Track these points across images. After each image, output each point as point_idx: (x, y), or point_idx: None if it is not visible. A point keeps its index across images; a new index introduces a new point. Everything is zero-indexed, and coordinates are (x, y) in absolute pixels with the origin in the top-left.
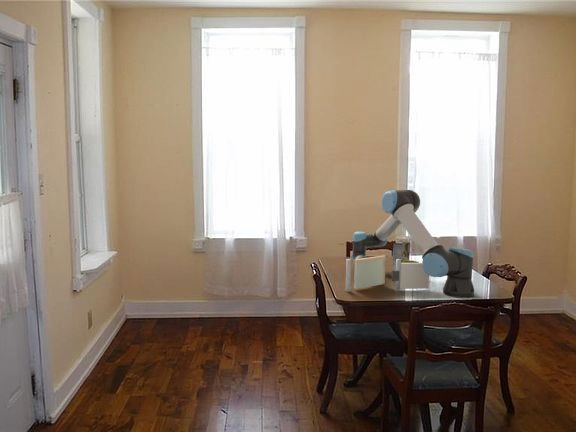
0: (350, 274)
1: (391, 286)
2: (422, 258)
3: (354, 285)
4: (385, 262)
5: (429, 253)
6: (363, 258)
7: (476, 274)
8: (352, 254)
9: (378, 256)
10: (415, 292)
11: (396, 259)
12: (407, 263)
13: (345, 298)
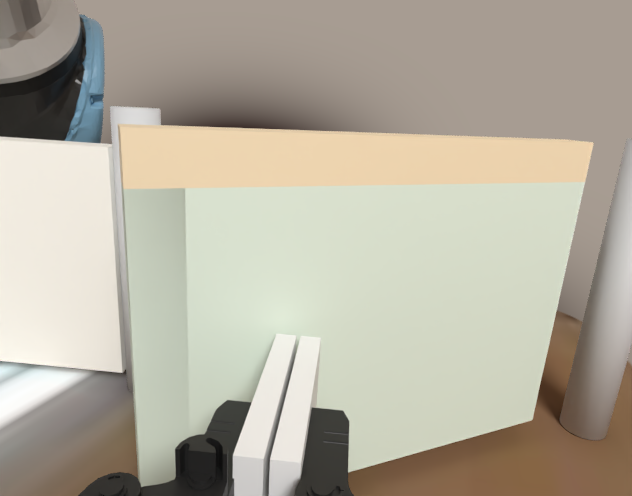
0: (593, 278)
1: (83, 484)
2: (61, 63)
3: (532, 392)
4: (124, 229)
5: (88, 18)
6: (496, 138)
7: None
8: None
9: (258, 130)
10: None
11: (158, 109)
12: (59, 141)
13: (562, 330)
